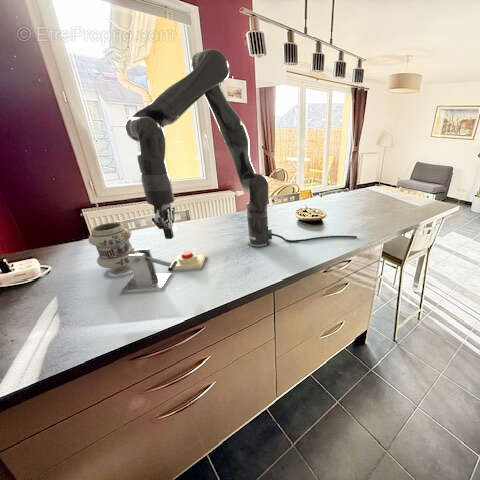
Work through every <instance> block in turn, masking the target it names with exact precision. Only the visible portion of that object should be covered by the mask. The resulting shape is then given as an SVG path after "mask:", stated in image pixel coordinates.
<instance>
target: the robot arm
mask: <svg viewBox="0 0 480 480" xmlns="http://www.w3.org/2000/svg"><path fill="white" fill-rule="evenodd" d="M190 65H191V70H192V71H191V72H190V73H188V74H187V75H186V76H184V77H183V78H181V79H179V80H177V81H176V82H174V84H171V85H170V86H168V87H167V88H166V89H165V90H164V91H162V92H160V94H159V95H158V96H157V97H156V98H154V99H153V100H152V102H150V103H149V104H147V105H146V106H144V107H142V108H141V109H139V110H137V111H136V112H135V113H133V114H132V115H130V116H129V117H128V119H127V120H126V122H125V125H124V130H125V133H126V134H127V136H128V137H129V138H130V139H131V140H132V141H135V142H137V143H139V146H140V147H139V148H140V149H139V150H140V152H139V153H138V154H137V158H136V159H137V164H138V168H139V172H140V178H141V184H142V187H143V191H144V195H145V200H146V203H147V204H148V205H151V206H152V207H153V213H154V215H155V216H153V217H151V221H152V223H153V224H154V225H155V226H156V227H157V228H158V229H159V230H163V235H164V239H166V240H172V239H173V238H175V237H174V236H175V235H174V231H173V225H174V224H175V214H176V207H175V206H172V203H174V202H175V195H174V191H173V186H172V181H171V177H170V175H169V171H168V170H169V169H168V166H167V162H166V161H167V160H166V134H165V131H164V129H163V128H165V127H166V126H170V125H173V124H174V123H176V122H177V121H178V120H179V119H180V118H181V117H182V116H183V115H184V114H185V113H186V112H187V111H188V110H189V109H190V108H191V107H192V106H193V105H194V104H195V103H196V102H197V101H198V100H200V98H202V97H203V96H204V97H205V100H206V101H207V103H208V105H209V107H210V110H211V113H212V114H213V115H212V116H213V117H214V119H215V122H216V124H217V126H218V129H219V132H220V134H221V136H222V139H223V142H224V144H225V146H226V148H227V150H228V153H229V156H230V158H231V159H232V162H233V165H234V167H235V170H236V174H237V177H238V180H239V183H240V186H241V188H242V189H243V190H244V191H245V192H246V193H248V194H249V201H247V202H246V203H245V209H246V221H247V231H248V243H249V245H250V246H251V247H254V248H261V247H266V246H270V240H273V237H277V238H280V239H282V240H283V241H284V242H287V243H298V242H309V241H313V240H321V239H333V238H334V239H335V238H347V239H357V238H358V237H357V236H356V235H326V236H323V235H322V236H316V237H309V238H303V239H287V238H285V237H284V236H282V235H279V234H278V233H277V234H276V233H273V232H272V228H271V229H270V228H269V218H268V217H269V216H268V204H269V199H270V197H269V196H270V195H269V191H270V190H269V182H268V181H269V180H268V179H267V177H266V176H265V175H264V174H260V173H257V172H256V170H255V169H254V167H253V164H252V162H251V156H250V138H249V135H248V132H247V129H246V126H245V124H244V122H243V120H242V118H241V117H240V115H239V114H238V113H237V111H236V110H235V109H234V108H233V107H232V106H231V104H230V102H229V101H228V99H227V98H226V95H225V94H224V91H223V89H222V86H221V83H224V82H225V81H227V79H228V78H229V75H230V71H231V70H230V63H229V61H228V59H227V57H226V55H225V54H224V53H223V52H221V51H220V50H219V49H216V48H208V49H204V50H202V51H199V52H196V53H194V54H193V55H192V57H191V60H190Z"/></svg>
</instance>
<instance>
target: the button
mask: <svg viewBox="0 0 480 480" xmlns="http://www.w3.org/2000/svg"><path fill="white" fill-rule="evenodd" d="M192 252H193V251H191V250H185V251H182V252H181V254H182V258H183V259H188V258H191V257H193V255H192Z"/></svg>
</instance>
